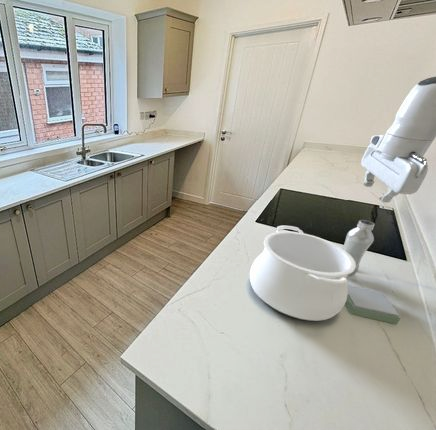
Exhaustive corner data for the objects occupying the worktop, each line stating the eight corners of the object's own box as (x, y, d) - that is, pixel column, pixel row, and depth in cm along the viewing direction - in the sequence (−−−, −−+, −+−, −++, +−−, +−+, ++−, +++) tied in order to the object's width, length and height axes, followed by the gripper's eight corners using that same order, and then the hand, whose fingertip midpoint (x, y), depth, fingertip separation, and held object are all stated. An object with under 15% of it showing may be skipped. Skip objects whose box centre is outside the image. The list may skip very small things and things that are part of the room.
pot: (237, 263, 96) (247, 222, 88) (310, 270, 93) (327, 227, 85) (262, 326, 72) (280, 277, 64) (363, 339, 68) (395, 288, 60)
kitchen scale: (379, 298, 80) (383, 291, 79) (396, 324, 72) (401, 316, 70) (337, 289, 84) (341, 282, 82) (349, 313, 75) (354, 306, 74)
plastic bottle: (330, 264, 95) (352, 215, 86) (354, 271, 92) (380, 221, 82) (329, 273, 91) (352, 223, 82) (354, 281, 87) (382, 229, 78)
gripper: (448, 162, 59) (411, 213, 66) (395, 135, 75) (370, 179, 83) (413, 159, 60) (381, 210, 68) (369, 134, 77) (346, 177, 84)
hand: (374, 193), depth 75 cm, fingers open, 8 cm apart
